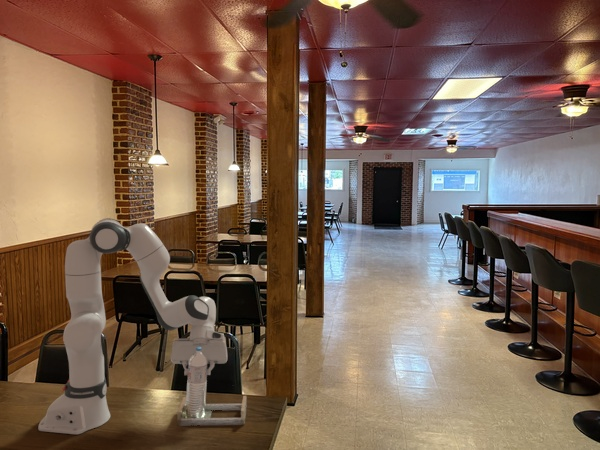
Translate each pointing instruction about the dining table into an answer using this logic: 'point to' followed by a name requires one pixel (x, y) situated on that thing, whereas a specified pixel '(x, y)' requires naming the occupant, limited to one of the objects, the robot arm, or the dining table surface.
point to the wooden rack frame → (208, 407)
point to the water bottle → (196, 384)
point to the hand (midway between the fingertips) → (197, 374)
